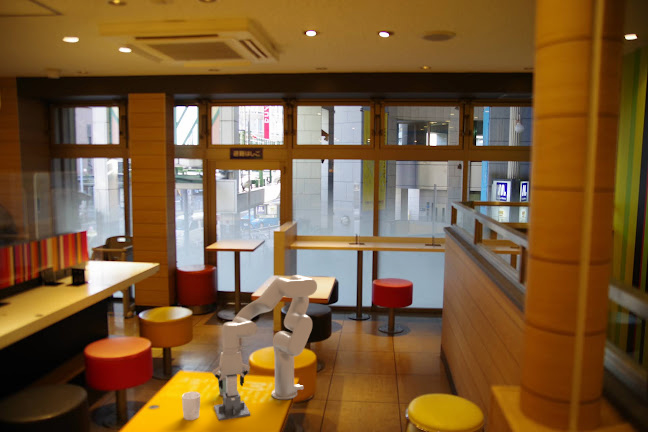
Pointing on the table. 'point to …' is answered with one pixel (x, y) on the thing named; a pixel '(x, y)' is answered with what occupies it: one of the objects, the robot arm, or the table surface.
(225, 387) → the coffee cup
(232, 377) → the post
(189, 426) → the table surface
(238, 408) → the stand base
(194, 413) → the white cup
